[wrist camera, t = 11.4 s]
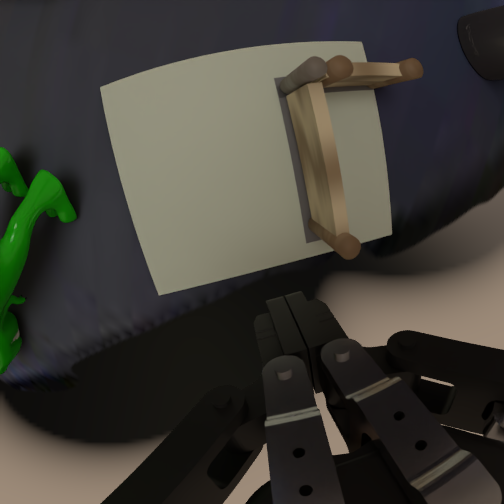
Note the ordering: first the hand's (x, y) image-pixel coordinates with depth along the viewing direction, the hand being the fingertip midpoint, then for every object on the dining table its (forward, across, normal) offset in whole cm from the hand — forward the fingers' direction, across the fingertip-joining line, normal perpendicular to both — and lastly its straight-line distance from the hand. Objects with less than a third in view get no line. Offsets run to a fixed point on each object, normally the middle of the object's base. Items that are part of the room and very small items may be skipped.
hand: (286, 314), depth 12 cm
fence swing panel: (+13, -6, -5) cm, 15 cm away
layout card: (+14, -2, -5) cm, 15 cm away
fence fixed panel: (+14, -10, -11) cm, 20 cm away
